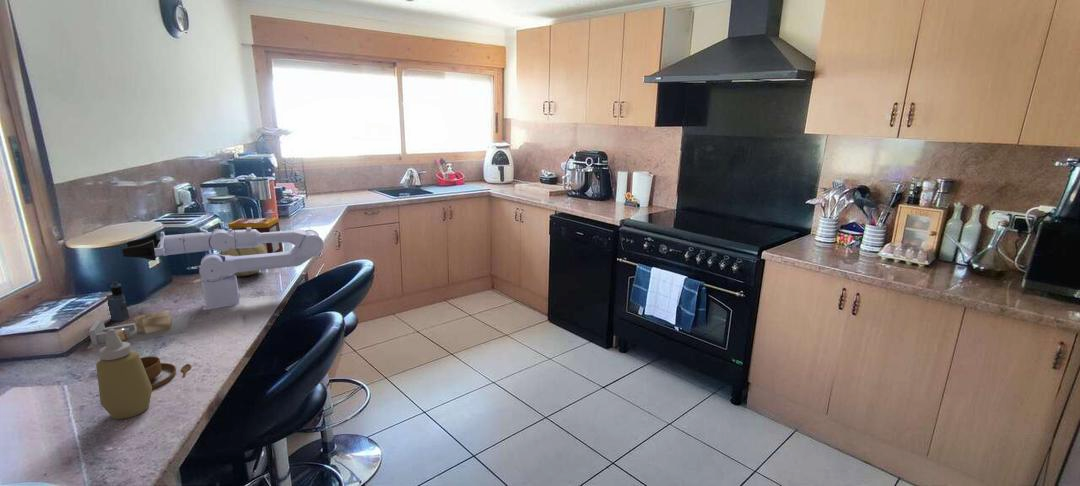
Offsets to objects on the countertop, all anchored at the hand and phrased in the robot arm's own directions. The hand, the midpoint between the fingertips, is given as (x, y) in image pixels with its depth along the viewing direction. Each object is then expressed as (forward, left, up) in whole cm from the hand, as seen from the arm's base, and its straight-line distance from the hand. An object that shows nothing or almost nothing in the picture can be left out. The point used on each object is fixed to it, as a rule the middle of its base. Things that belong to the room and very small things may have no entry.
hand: (125, 249), depth 137 cm
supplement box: (-30, -53, -21) cm, 65 cm away
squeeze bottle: (-7, +56, -21) cm, 61 cm away
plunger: (+2, +16, -20) cm, 26 cm away
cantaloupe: (-26, -30, -21) cm, 45 cm away
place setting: (-7, +39, -22) cm, 45 cm away
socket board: (-2, +13, -21) cm, 25 cm away
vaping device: (+5, -1, -21) cm, 22 cm away
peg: (-6, +13, -20) cm, 25 cm away
